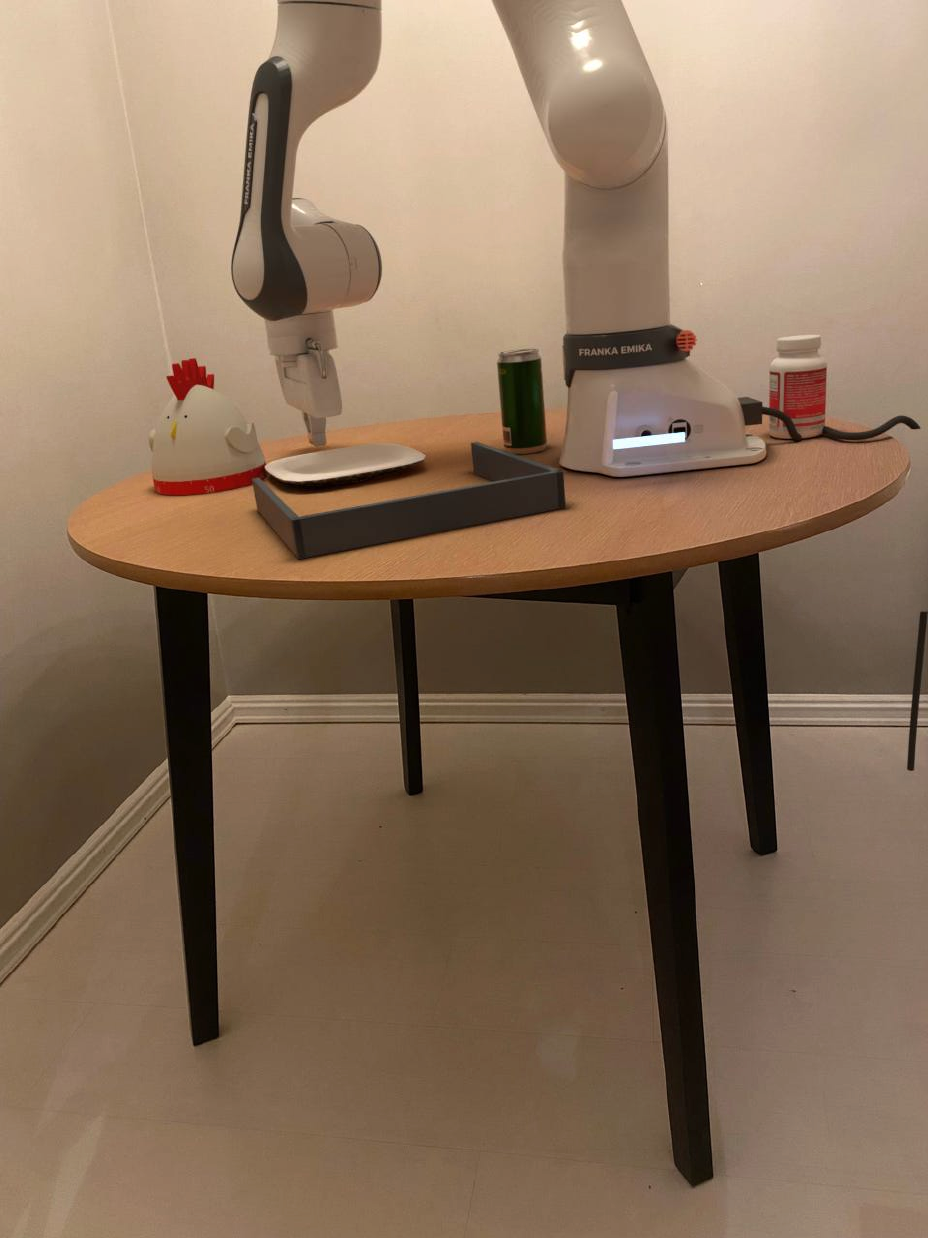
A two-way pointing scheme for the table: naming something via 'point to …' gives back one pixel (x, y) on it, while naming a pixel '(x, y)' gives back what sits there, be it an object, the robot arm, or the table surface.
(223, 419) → the kitchen timer
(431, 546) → the table surface
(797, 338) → the pill bottle
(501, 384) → the beer can
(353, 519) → the tray
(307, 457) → the plate
